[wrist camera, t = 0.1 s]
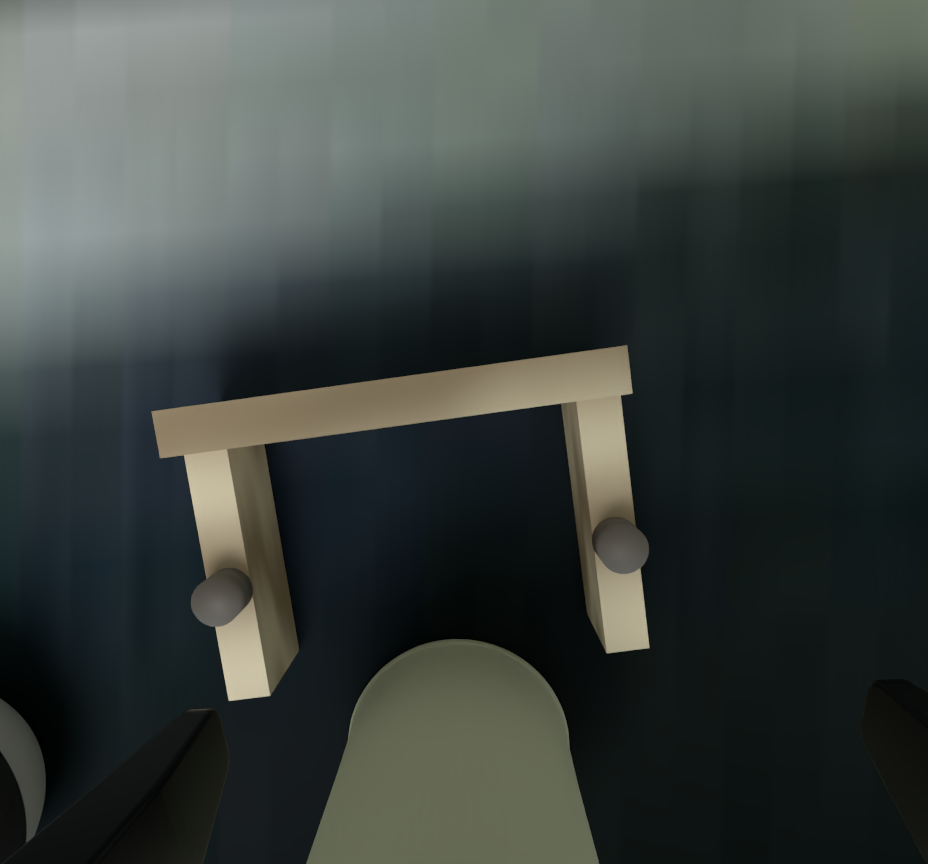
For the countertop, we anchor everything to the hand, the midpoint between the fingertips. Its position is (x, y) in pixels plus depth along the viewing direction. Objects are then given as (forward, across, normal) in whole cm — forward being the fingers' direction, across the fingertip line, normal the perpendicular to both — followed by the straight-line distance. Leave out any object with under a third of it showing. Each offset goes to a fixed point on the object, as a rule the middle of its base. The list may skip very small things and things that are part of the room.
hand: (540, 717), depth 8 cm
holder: (+15, +3, +4) cm, 16 cm away
